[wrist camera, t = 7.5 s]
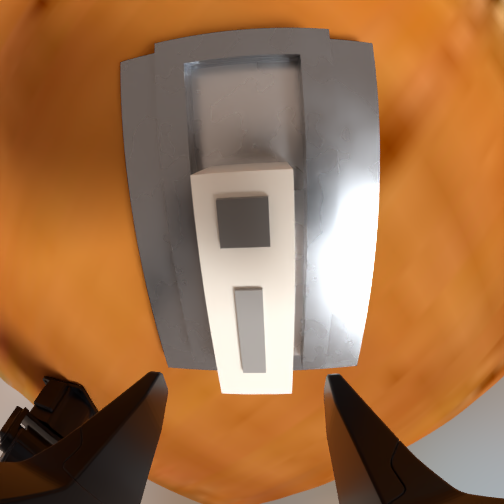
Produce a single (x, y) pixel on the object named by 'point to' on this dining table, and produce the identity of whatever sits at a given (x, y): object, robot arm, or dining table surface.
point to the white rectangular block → (248, 272)
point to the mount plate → (257, 151)
